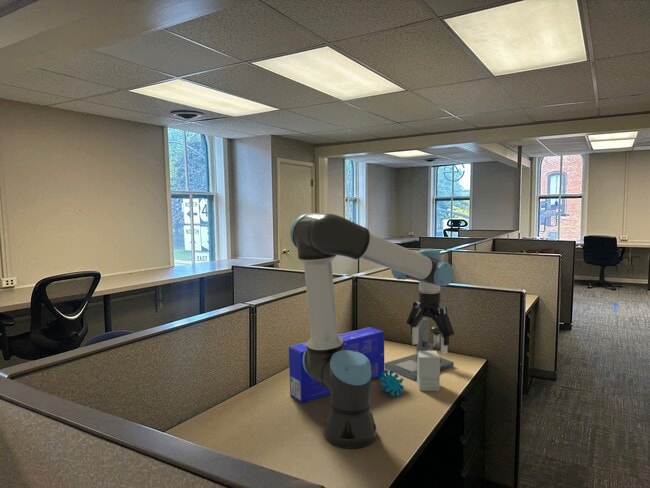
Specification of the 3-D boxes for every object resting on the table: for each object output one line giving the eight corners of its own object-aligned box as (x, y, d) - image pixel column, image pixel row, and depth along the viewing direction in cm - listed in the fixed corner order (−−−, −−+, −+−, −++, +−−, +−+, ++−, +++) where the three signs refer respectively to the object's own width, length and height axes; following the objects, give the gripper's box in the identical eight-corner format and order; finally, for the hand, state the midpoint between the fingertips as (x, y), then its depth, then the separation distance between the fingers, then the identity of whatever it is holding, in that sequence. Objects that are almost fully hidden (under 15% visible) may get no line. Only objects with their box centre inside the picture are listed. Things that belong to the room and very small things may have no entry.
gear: (389, 396, 146) (377, 370, 152) (379, 404, 149) (368, 377, 155) (411, 392, 153) (398, 367, 158) (401, 400, 156) (389, 374, 162)
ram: (437, 348, 176) (437, 329, 175) (427, 345, 180) (427, 327, 179) (444, 346, 179) (445, 327, 178) (435, 343, 183) (435, 325, 182)
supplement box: (436, 383, 161) (437, 350, 160) (439, 391, 154) (440, 357, 153) (416, 382, 162) (417, 350, 161) (418, 390, 155) (419, 356, 154)
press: (413, 380, 164) (414, 334, 162) (384, 367, 177) (385, 325, 175) (453, 366, 178) (454, 324, 176) (424, 355, 190) (424, 316, 189)
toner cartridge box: (370, 370, 174) (370, 326, 172) (384, 377, 167) (385, 331, 165) (288, 395, 151) (288, 345, 150) (301, 404, 144) (300, 351, 143)
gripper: (465, 296, 147) (464, 355, 149) (411, 285, 167) (411, 338, 169) (451, 299, 143) (450, 360, 145) (397, 287, 163) (397, 341, 165)
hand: (429, 348), depth 157 cm, fingers open, 13 cm apart
